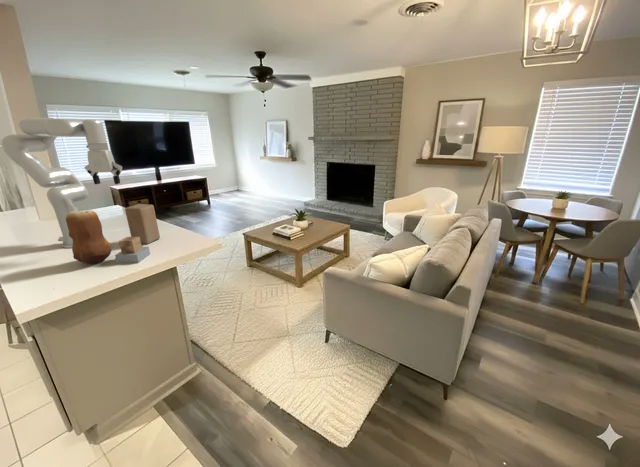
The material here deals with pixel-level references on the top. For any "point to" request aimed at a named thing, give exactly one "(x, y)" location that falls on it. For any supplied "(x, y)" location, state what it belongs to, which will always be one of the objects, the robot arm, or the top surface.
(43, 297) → the top surface
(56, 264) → the top surface
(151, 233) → the block
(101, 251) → the butternut squash
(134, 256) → the pedestal
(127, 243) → the walnut cube
